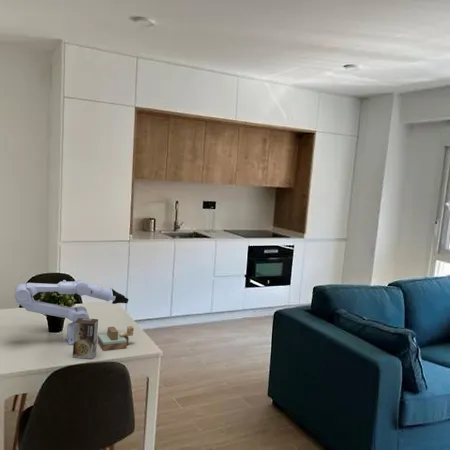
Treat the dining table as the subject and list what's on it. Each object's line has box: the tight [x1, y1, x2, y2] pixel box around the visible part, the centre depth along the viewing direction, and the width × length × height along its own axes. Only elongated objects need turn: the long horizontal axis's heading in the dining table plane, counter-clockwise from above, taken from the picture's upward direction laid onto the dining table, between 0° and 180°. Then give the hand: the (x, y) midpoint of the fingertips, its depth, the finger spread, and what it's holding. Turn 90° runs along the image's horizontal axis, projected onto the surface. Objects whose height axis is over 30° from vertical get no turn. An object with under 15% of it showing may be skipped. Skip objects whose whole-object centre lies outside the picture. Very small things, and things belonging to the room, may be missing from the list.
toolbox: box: [97, 336, 130, 351], centre depth 213 cm, size 13×10×4 cm
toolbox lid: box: [97, 326, 127, 345], centre depth 213 cm, size 11×10×5 cm
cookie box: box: [72, 318, 99, 360], centre depth 198 cm, size 9×6×16 cm
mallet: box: [118, 325, 134, 337], centre depth 216 cm, size 6×3×4 cm, turn 119°
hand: (126, 299), depth 222 cm, fingers open, 7 cm apart
